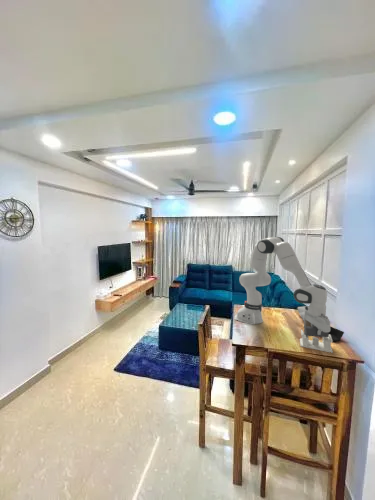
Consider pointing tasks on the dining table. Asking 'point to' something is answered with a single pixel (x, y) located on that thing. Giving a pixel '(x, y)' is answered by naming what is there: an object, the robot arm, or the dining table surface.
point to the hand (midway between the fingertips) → (316, 332)
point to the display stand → (316, 343)
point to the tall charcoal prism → (314, 332)
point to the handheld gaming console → (335, 334)
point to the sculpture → (301, 311)
